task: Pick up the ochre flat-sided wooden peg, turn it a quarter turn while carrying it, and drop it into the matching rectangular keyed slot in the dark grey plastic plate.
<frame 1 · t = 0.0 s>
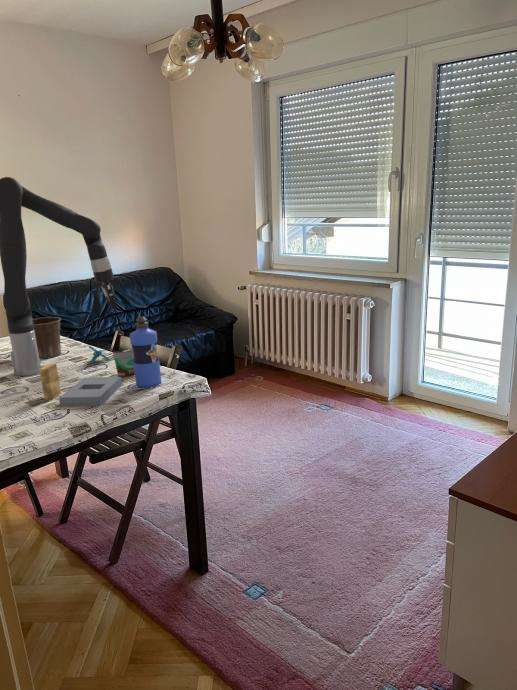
hand: (112, 307, 219), 22 cm above the table, tool pointing down, fingers open, 8 cm apart
gear: (100, 362, 222), on the table
keyed plate: (92, 394, 182), on the table
keyed peg: (53, 396, 182), on the table
plant pot: (47, 355, 236), on the table
water bottle: (149, 384, 190), on the table
food container: (133, 374, 202), on the table
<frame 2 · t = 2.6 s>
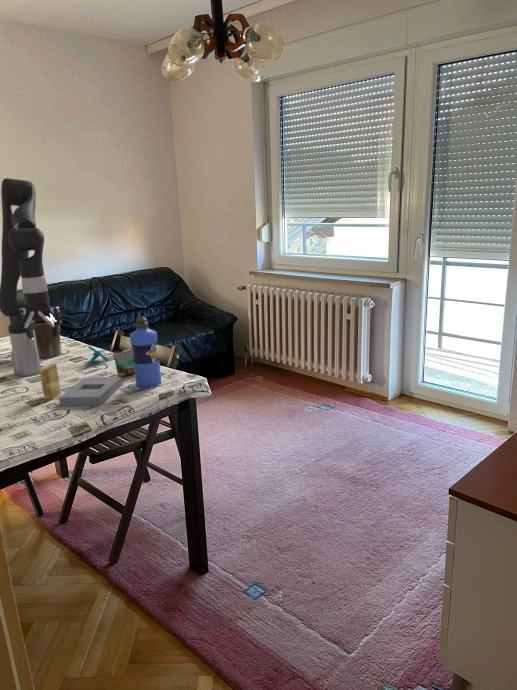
hand: (43, 337, 177), 21 cm above the table, tool pointing down, fingers open, 8 cm apart
nothing on the table moved.
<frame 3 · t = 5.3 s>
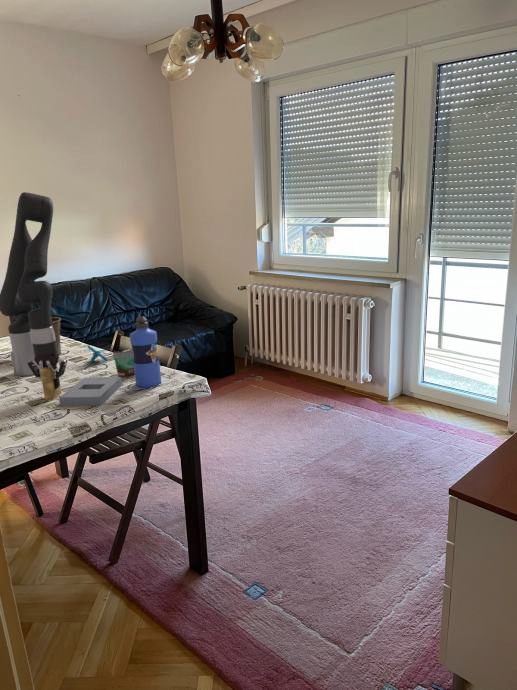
hand: (51, 388, 181), 3 cm above the table, tool pointing down, fingers closed on keyed peg, 3 cm apart
keyed peg: (53, 396, 182), on the table, touching gripper
everything else where it was.
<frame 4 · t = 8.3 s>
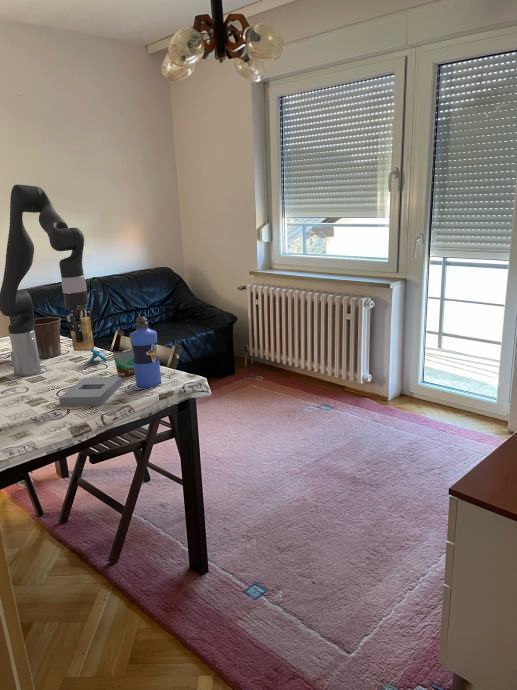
hand: (82, 340, 177), 19 cm above the table, tool pointing down, fingers closed on keyed peg, 3 cm apart
keyed peg: (84, 349, 178), point 16 cm above the table, touching gripper
everything else where it was.
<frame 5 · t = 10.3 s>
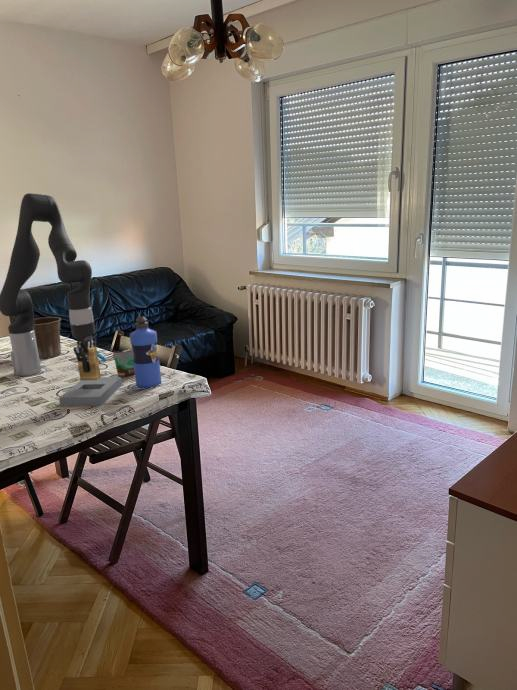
hand: (89, 370, 179), 9 cm above the table, tool pointing down, fingers closed on keyed peg, 3 cm apart
keyed peg: (90, 378, 180), point 6 cm above the table, touching gripper
when the fingers open (4 cm above the table, at t = 11.6 s): keyed peg stays where it is, resting in keyed plate.
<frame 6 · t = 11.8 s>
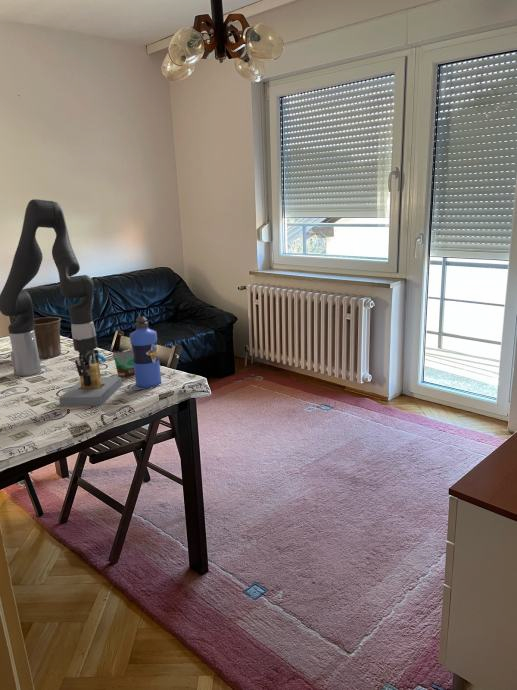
hand: (91, 383, 181), 4 cm above the table, tool pointing down, fingers open, 4 cm apart
keyed peg: (92, 394, 182), resting in keyed plate
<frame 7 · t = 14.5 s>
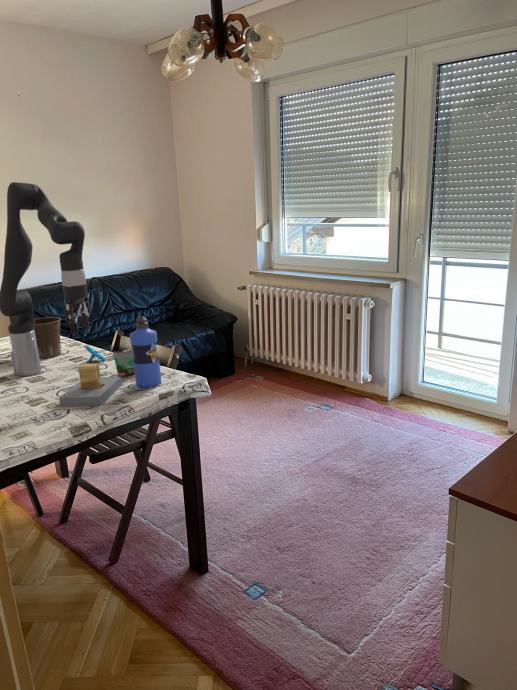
hand: (80, 330, 178), 22 cm above the table, tool pointing down, fingers open, 8 cm apart
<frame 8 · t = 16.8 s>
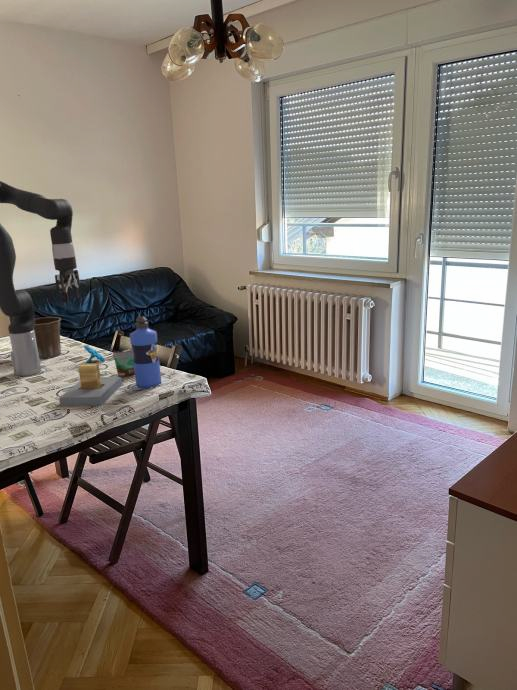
hand: (70, 300, 193), 30 cm above the table, tool pointing down, fingers open, 8 cm apart
at the end: keyed peg 0.0 cm off-centre on the keyed plate, point 0.0 cm above the keyed plate's base; keyed peg tilted 0°; the gripper is holding nothing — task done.
